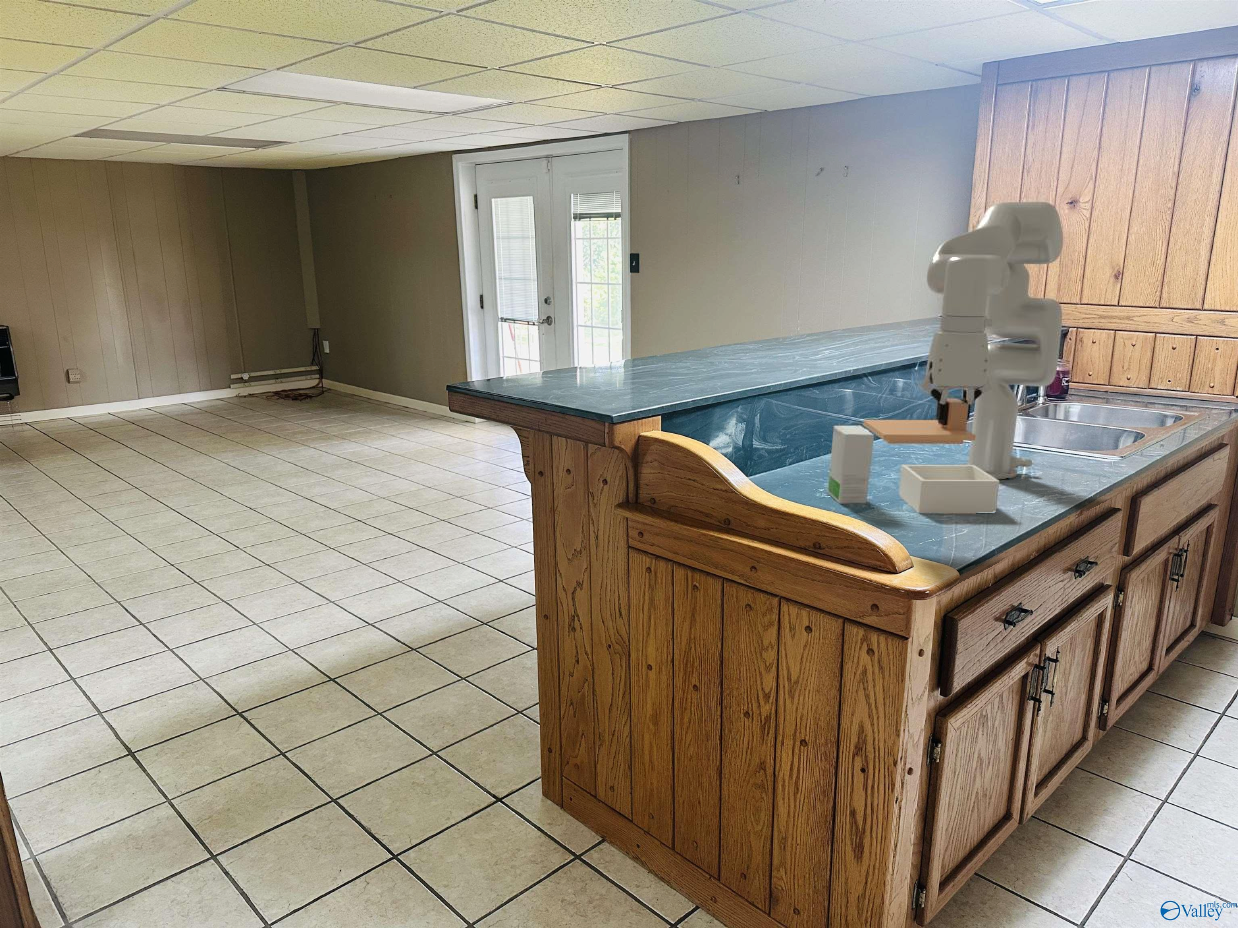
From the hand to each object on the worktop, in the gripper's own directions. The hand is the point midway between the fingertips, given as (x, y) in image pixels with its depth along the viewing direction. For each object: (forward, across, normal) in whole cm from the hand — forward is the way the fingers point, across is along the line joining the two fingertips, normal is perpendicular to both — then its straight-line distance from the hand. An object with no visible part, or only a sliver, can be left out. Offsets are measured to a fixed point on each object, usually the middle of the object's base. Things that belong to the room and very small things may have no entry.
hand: (952, 423), depth 161 cm
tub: (+21, -8, -18) cm, 29 cm away
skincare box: (+22, +12, -22) cm, 33 cm away
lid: (+2, +6, 0) cm, 7 cm away
